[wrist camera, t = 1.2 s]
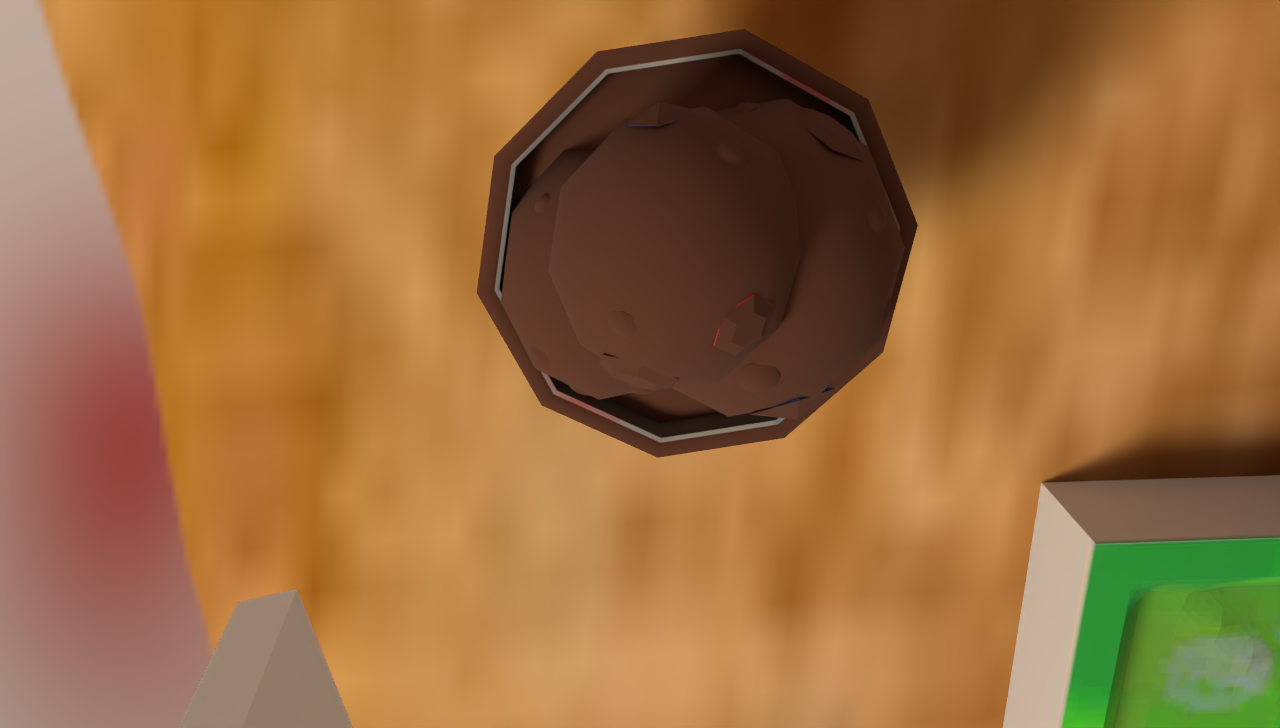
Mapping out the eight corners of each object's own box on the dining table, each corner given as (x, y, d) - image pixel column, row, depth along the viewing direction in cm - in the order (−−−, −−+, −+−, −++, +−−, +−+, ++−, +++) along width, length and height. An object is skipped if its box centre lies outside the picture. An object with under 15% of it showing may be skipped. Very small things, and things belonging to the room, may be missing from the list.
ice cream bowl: (483, 314, 37) (436, 543, 23) (528, -26, 33) (503, 1, 19) (781, 357, 38) (907, 597, 24) (859, 35, 34) (1061, 101, 20)
